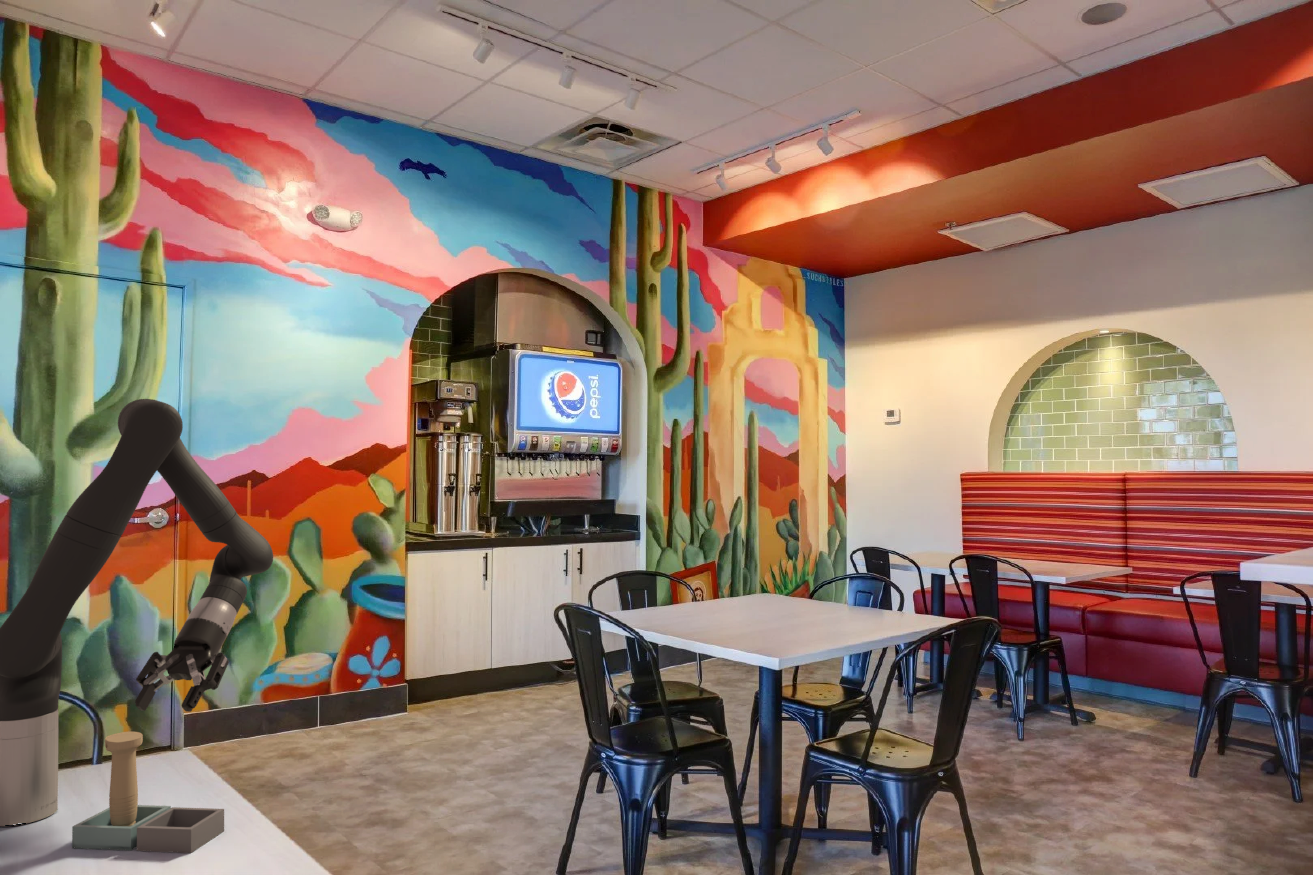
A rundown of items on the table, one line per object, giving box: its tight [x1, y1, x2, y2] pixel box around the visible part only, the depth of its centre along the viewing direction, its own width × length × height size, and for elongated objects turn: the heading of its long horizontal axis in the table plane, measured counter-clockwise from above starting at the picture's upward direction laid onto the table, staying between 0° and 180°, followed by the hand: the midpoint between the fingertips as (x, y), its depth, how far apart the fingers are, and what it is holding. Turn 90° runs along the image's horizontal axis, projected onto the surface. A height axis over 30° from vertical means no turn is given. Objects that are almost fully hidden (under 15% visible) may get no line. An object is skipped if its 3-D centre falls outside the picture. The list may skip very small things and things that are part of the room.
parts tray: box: [71, 804, 172, 851], centre depth 137 cm, size 10×9×3 cm
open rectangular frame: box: [136, 806, 225, 854], centre depth 135 cm, size 9×8×4 cm
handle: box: [104, 731, 144, 827], centre depth 138 cm, size 5×6×15 cm
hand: (162, 708), depth 147 cm, fingers open, 8 cm apart
